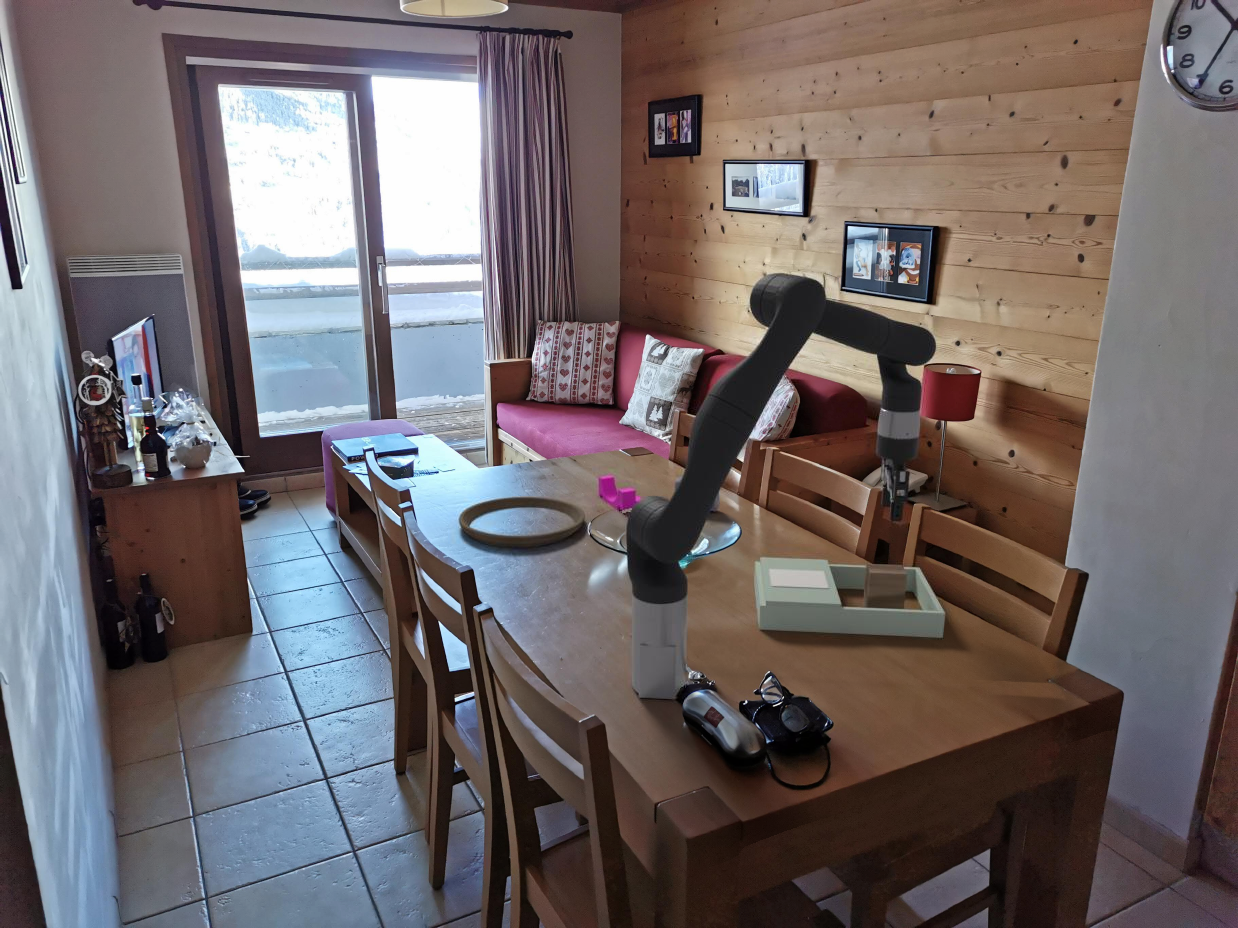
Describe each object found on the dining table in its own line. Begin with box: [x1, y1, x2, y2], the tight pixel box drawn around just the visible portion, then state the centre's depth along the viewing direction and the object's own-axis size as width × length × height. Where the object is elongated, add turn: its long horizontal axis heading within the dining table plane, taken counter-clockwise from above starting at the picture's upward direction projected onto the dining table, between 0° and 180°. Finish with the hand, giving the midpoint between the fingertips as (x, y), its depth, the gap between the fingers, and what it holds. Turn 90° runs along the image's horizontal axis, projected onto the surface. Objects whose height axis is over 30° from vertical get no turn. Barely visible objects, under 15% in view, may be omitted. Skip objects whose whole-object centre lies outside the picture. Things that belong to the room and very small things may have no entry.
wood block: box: [862, 563, 907, 609], centre depth 178 cm, size 4×7×9 cm, turn 84°
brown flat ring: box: [458, 496, 586, 549], centre depth 222 cm, size 31×31×5 cm
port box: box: [753, 556, 946, 639], centre depth 179 cm, size 22×34×6 cm, turn 84°
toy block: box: [598, 475, 643, 511], centre depth 238 cm, size 15×6×8 cm, turn 26°
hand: (891, 513), depth 173 cm, fingers open, 8 cm apart
